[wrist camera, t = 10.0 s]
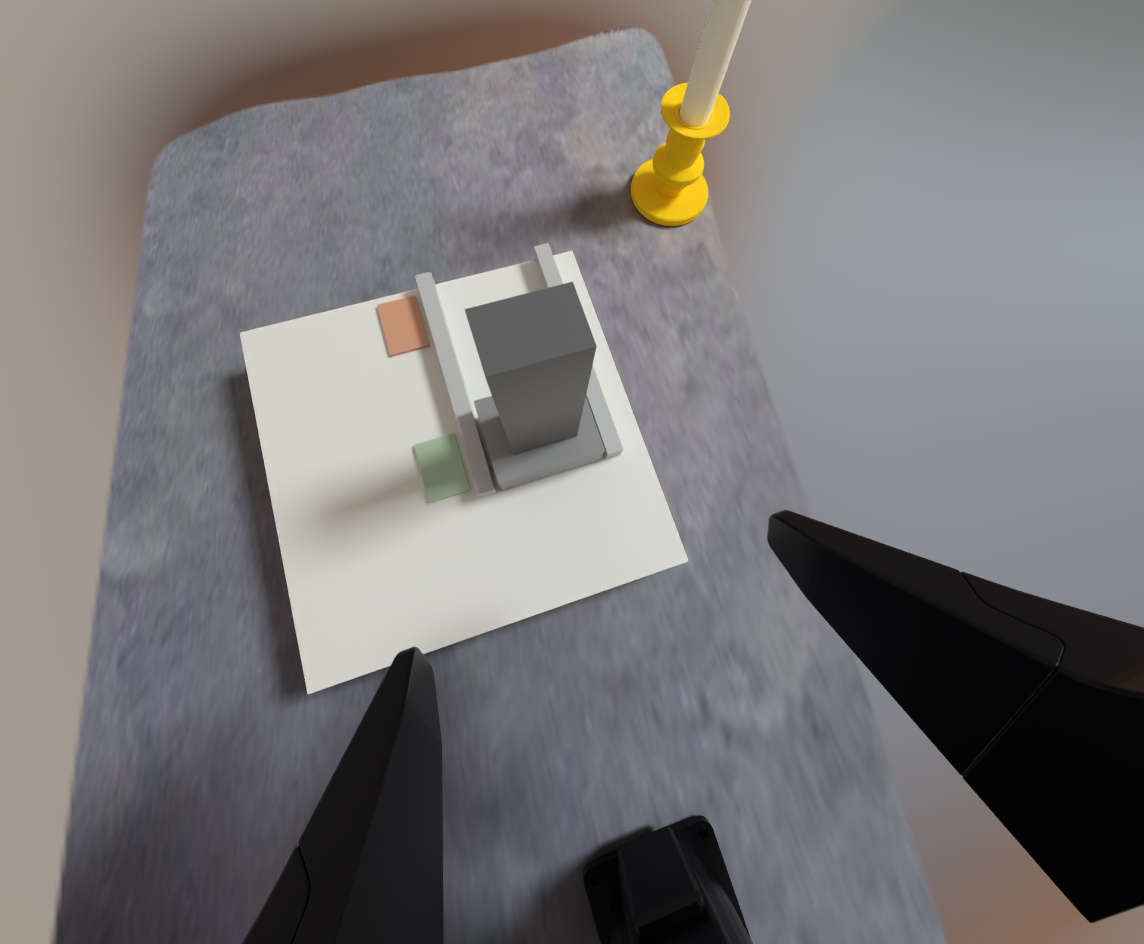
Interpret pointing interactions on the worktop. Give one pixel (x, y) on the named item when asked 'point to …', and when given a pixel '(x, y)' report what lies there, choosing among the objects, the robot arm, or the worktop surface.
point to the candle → (690, 125)
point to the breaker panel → (434, 479)
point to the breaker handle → (536, 384)
